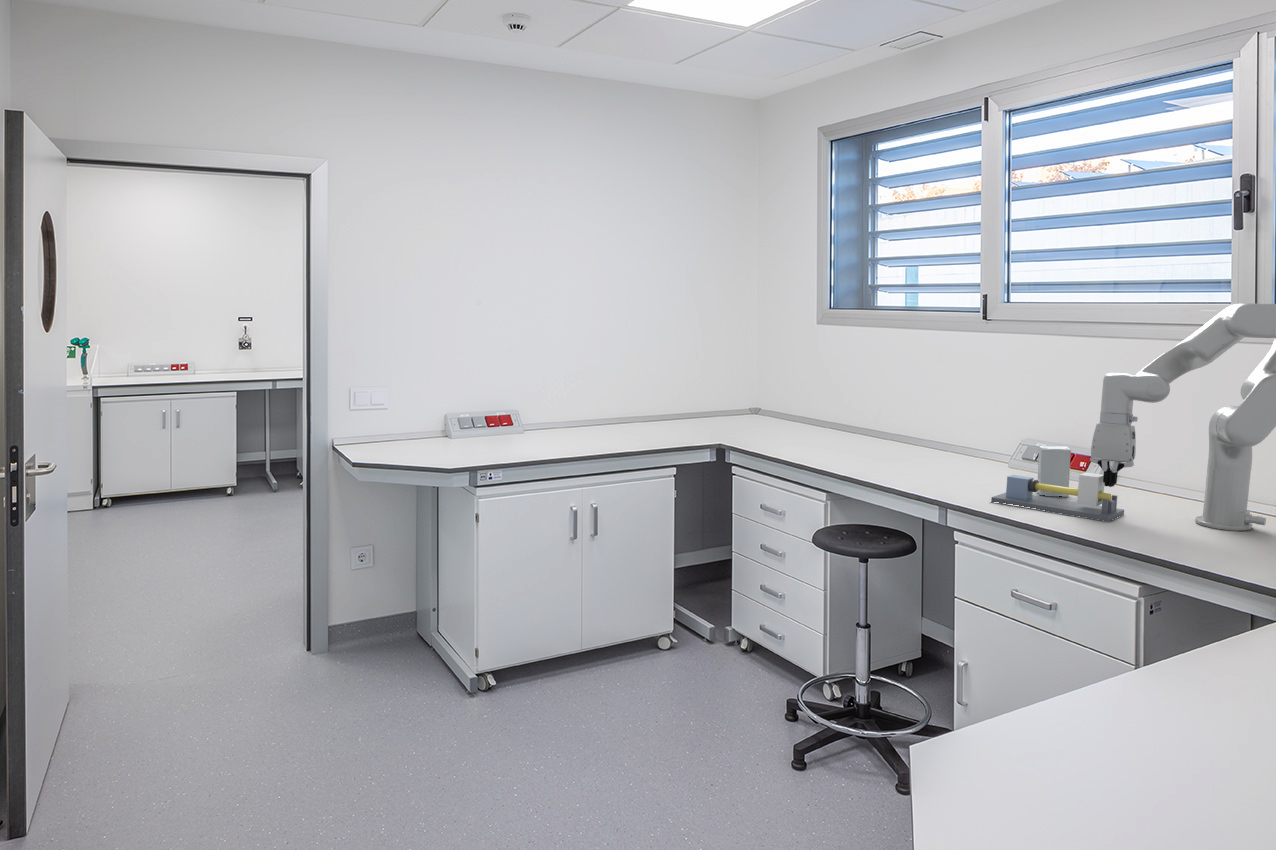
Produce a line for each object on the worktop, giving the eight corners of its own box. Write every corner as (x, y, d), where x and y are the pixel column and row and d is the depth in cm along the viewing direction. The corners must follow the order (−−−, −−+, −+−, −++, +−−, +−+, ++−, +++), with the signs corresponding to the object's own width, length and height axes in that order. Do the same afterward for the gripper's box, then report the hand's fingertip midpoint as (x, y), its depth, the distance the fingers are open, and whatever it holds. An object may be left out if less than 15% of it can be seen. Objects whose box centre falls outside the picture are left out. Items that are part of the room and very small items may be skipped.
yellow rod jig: (1123, 514, 245) (1126, 488, 244) (1108, 522, 237) (1110, 494, 236) (1008, 496, 268) (1010, 471, 267) (991, 502, 260) (992, 477, 259)
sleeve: (1102, 503, 246) (1105, 475, 245) (1096, 506, 242) (1098, 477, 241) (1083, 500, 249) (1085, 472, 248) (1077, 503, 246) (1079, 474, 245)
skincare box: (1064, 493, 273) (1068, 446, 271) (1068, 498, 267) (1072, 449, 265) (1035, 492, 275) (1038, 444, 273) (1038, 496, 269) (1042, 447, 267)
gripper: (1150, 420, 237) (1144, 488, 239) (1091, 415, 247) (1085, 480, 250) (1141, 423, 231) (1135, 492, 234) (1081, 417, 242) (1075, 483, 244)
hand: (1109, 485), depth 242 cm, fingers closed
